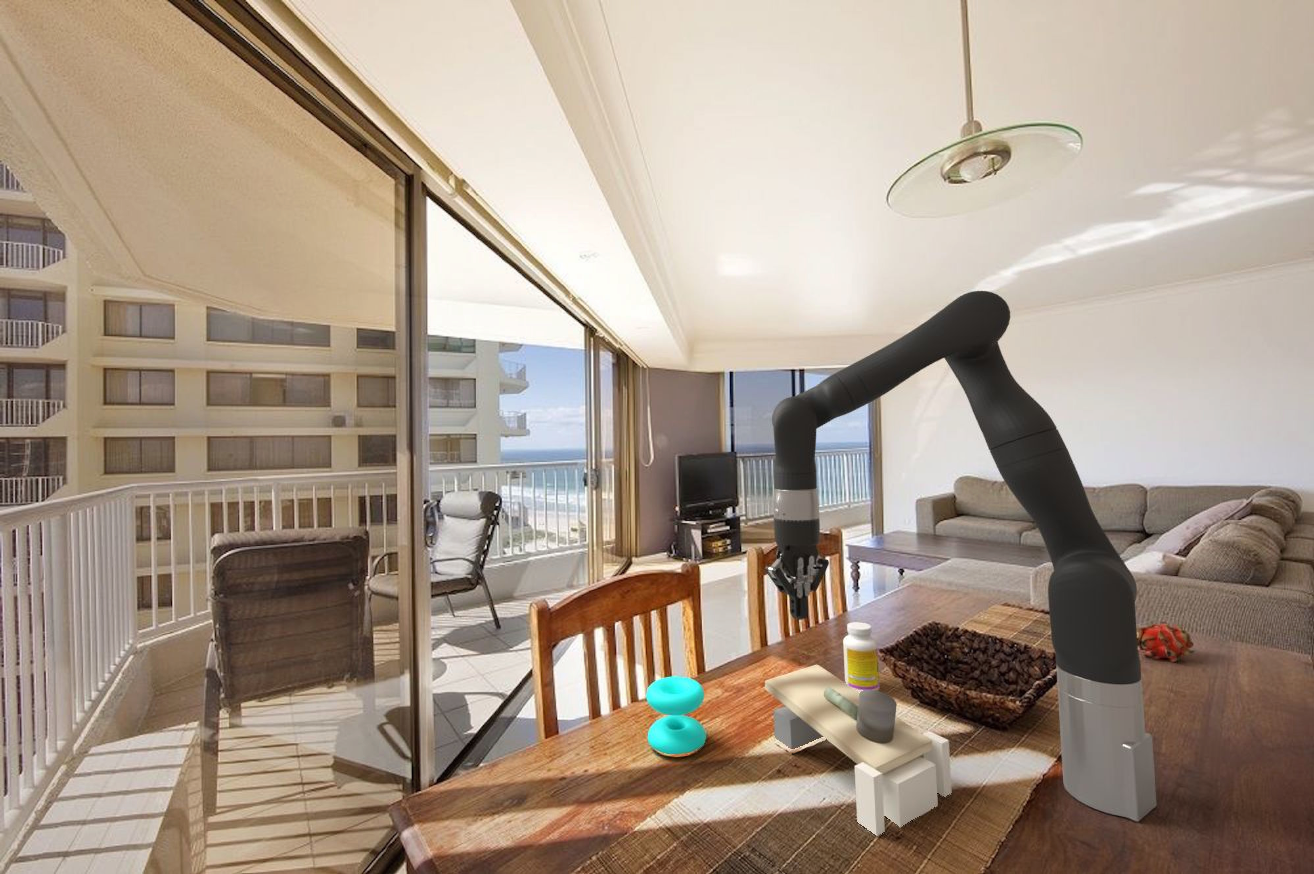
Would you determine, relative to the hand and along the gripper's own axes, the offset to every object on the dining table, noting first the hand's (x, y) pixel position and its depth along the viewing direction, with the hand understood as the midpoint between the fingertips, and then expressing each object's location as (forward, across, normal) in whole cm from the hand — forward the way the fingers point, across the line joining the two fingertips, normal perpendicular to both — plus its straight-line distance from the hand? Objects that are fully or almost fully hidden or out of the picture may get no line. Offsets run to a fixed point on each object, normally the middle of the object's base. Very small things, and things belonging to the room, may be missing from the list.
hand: (799, 617), depth 90 cm
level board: (+13, 0, -8) cm, 16 cm away
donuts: (+22, -18, +12) cm, 31 cm away
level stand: (+21, 0, -9) cm, 23 cm away
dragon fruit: (+21, +91, -19) cm, 95 cm away
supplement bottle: (+22, +26, +9) cm, 35 cm away
